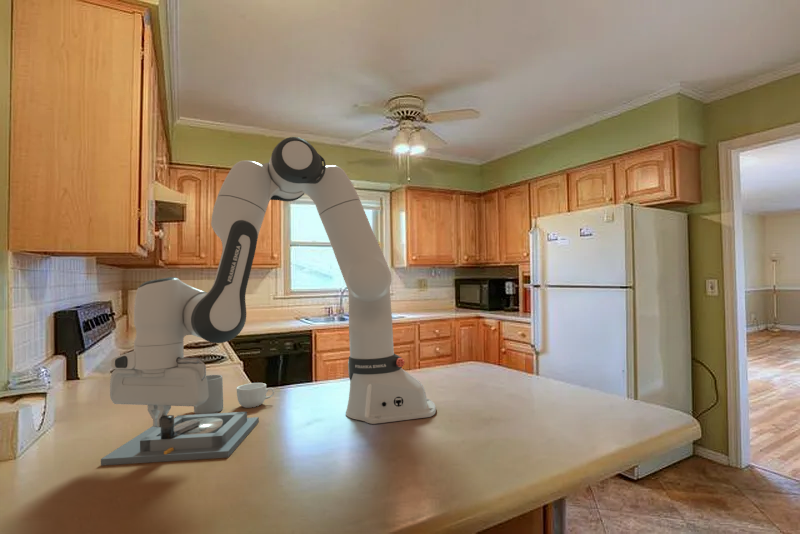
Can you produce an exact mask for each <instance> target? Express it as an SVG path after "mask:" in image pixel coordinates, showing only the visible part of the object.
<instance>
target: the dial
mask: <svg viewBox="0 0 800 534" xmlns="http://www.w3.org/2000/svg"><path fill="white" fill-rule="evenodd" d="M174 418H175V415H174V414H167V416H163V417H161V418H160V423H161V439H170V438H173V437H174V436H176V435H188V434H205V433H216V432H217V431H218V430H219V429H220V428H221V427H223V420H222V419H220V418H213V417H209V418H199V419H193V420H189V421H185V422H182V423H180V424H178V425H176V426H174Z"/></svg>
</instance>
